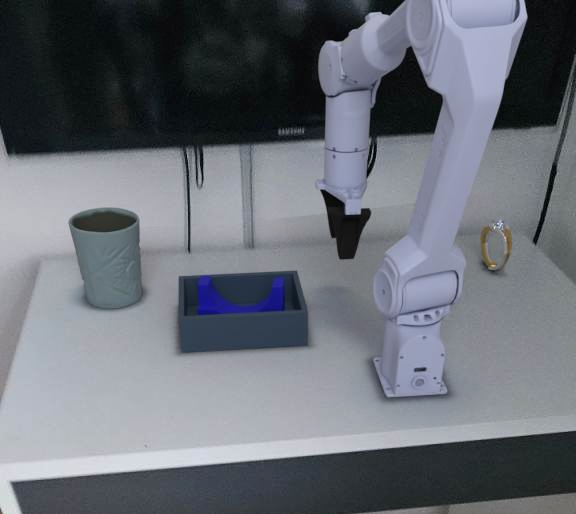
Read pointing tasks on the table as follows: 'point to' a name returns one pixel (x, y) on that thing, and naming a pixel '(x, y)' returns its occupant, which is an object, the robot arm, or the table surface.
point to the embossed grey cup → (108, 255)
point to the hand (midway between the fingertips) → (342, 247)
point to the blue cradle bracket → (217, 305)
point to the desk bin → (242, 314)
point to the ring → (506, 243)
